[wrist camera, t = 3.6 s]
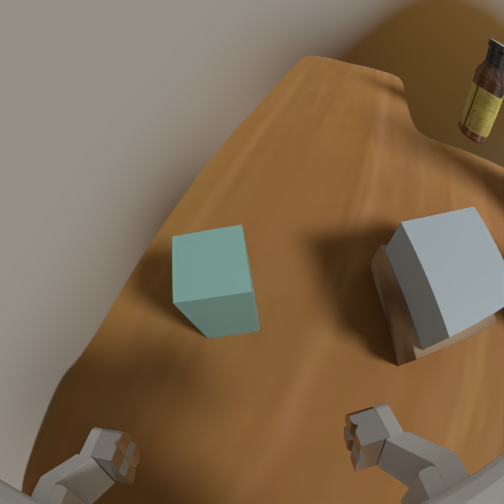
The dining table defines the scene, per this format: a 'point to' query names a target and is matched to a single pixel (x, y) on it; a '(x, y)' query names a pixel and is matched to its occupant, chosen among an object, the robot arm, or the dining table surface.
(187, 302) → the teal block
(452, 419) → the dining table surface
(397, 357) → the walnut block
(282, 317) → the dining table surface
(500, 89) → the sauce bottle
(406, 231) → the grey block
